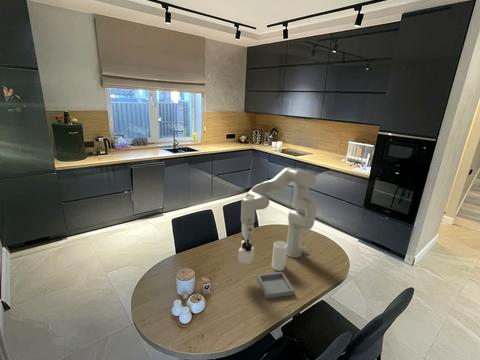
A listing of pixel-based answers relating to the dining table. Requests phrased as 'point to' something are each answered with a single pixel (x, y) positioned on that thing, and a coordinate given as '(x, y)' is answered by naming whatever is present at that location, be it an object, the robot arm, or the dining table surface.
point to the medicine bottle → (245, 253)
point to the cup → (279, 255)
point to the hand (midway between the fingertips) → (246, 247)
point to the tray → (275, 285)
